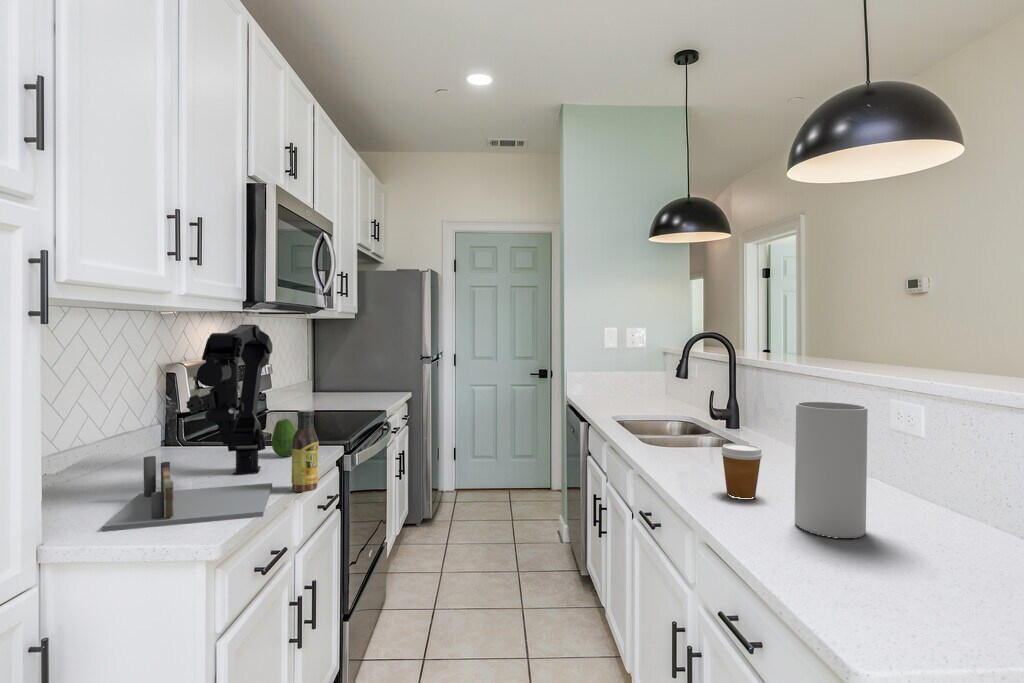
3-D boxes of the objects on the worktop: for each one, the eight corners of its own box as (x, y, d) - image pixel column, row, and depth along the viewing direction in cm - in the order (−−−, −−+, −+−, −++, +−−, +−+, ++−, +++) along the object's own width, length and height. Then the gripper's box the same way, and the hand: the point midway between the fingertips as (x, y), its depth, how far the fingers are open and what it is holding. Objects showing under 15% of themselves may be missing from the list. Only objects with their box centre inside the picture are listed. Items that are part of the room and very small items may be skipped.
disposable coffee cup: (713, 496, 136) (714, 447, 135) (729, 488, 143) (729, 441, 142) (754, 505, 129) (754, 453, 129) (768, 496, 136) (768, 446, 136)
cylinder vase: (783, 518, 120) (785, 401, 119) (843, 519, 119) (844, 402, 119) (813, 540, 107) (815, 409, 107) (880, 541, 107) (881, 410, 107)
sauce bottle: (309, 493, 137) (309, 412, 136) (286, 492, 138) (286, 411, 138) (323, 486, 143) (323, 408, 143) (301, 485, 144) (301, 408, 144)
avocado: (276, 454, 181) (276, 417, 180) (301, 453, 181) (301, 416, 181) (268, 459, 173) (267, 420, 172) (294, 459, 174) (294, 420, 173)
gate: (160, 491, 133) (160, 462, 133) (169, 490, 134) (169, 461, 134) (163, 517, 114) (163, 483, 114) (174, 516, 115) (173, 482, 115)
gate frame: (140, 497, 133) (139, 455, 133) (272, 486, 143) (272, 447, 143) (102, 531, 111) (102, 480, 110) (263, 516, 120) (262, 469, 120)
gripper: (197, 380, 148) (197, 439, 148) (180, 387, 130) (180, 454, 130) (243, 379, 151) (244, 437, 152) (233, 385, 134) (233, 451, 134)
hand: (225, 444), depth 142 cm, fingers closed
